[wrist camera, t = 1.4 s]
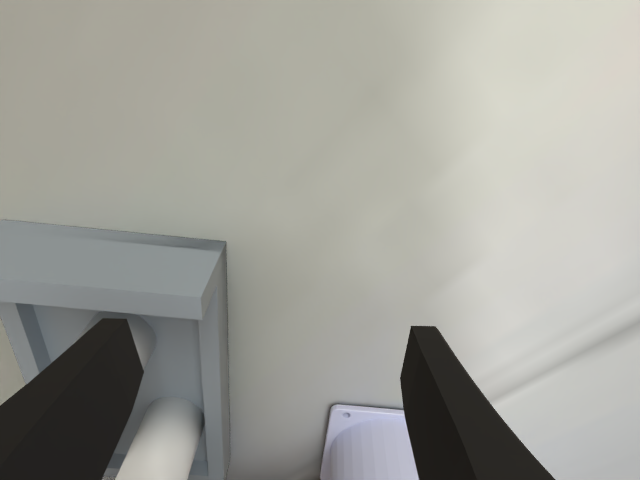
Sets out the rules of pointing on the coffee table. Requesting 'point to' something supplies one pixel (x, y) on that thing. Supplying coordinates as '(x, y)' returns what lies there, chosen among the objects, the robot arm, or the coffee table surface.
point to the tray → (126, 286)
